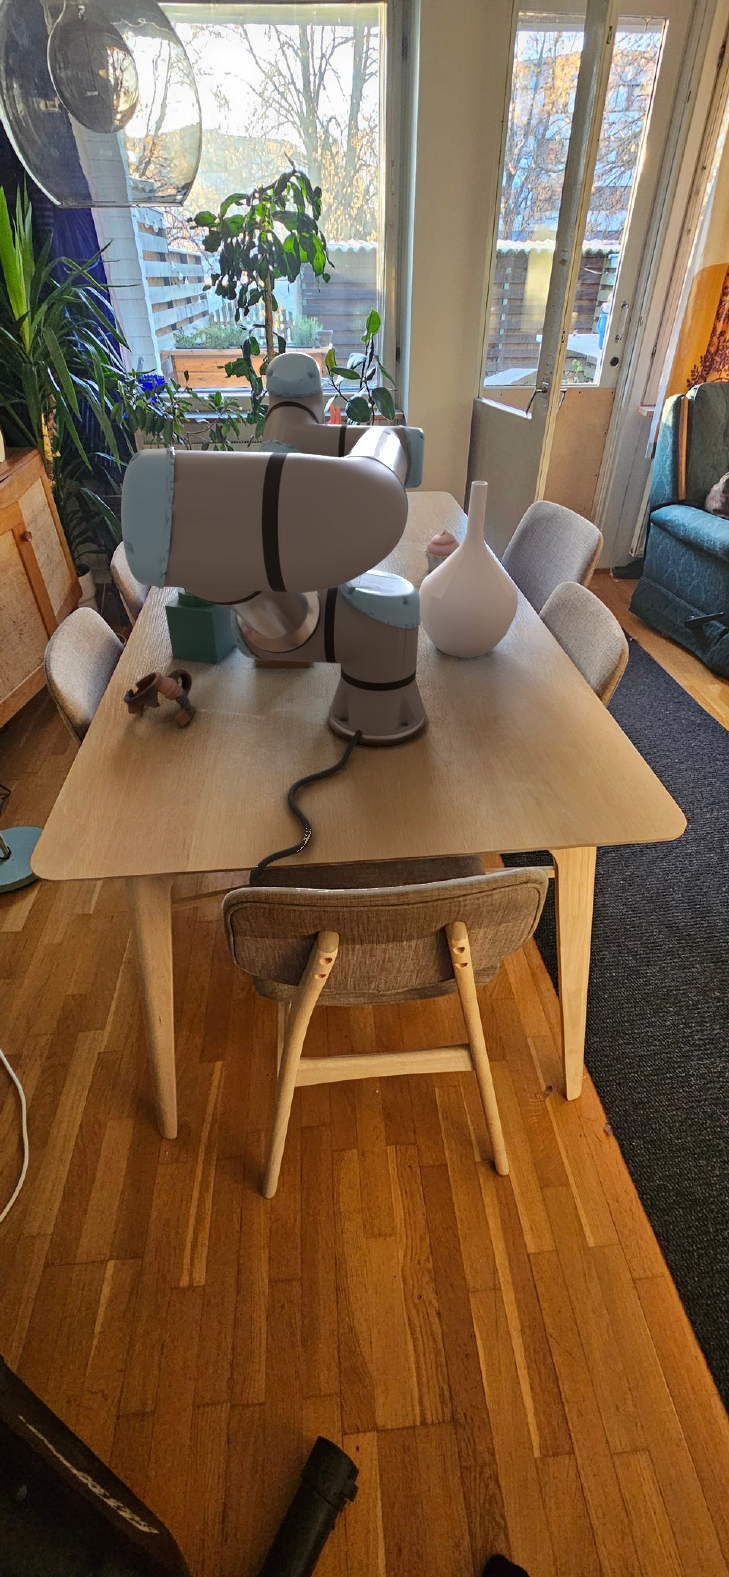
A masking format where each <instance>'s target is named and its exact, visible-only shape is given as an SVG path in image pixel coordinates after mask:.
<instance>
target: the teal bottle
mask: <svg viewBox="0 0 729 1577" xmlns="http://www.w3.org/2000/svg"><path fill="white" fill-rule="evenodd" d="M176 591H177V595H176V596H175V597H173V599H172V600H170V601H169V602H168V603H166V604H165V605H164V610H165V616H166V621H167V627H168V634H169V640H170V647H171V654H172V657H173V658H178V659H184V660H191V661H198V662H204V663H212V664H219V663H220V662H221V661H222V660H223V659H224V658H225V657H226V656H227V655H228V653H230V652H231V651H232V649H234V647H235V646H236V644H235V638H234V637H233V634H232V629H231V608H229V607H228V606H220V605H214V604H210V603H207V602H205V601H203V600H201V599H199V598H197V597H195V596H194V595H193V594H191V593H188V592H186V589H185V588H179V587H176Z"/></svg>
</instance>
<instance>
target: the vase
mask: <svg viewBox="0 0 729 1577" xmlns="http://www.w3.org/2000/svg"><path fill="white" fill-rule="evenodd" d="M488 485H489V484H488V482H487V481H484V480H474V481H472V482H471V488H470V495H469V501H468V502H469V504H468V511H467V520H466V521H467V522H466V530H465V535H464V537H463V540H462V541H461V542H460V543H459V545H460V546H459V547H458V548H457V549H456V550H455V551H454V552H453V553H452V554H451V555H450V556H449V557H448V558H447V559H446V560H445V561H444V562H443V563H442V564H441V565H440V566H438V567H437V568H436V569H435V570H434V571H433V572H431V573H430V572H429V574H428V575H426V576H425V577H424V579H423V580H422V581H421V584H420V588H419V591H418V593H419V597H420V616H421V624H422V628H423V630H424V631H425V633H426V635H427V637H428V638H429V640H430V641H431V643H432V644H433V645H434V646H435V647H436V648H437V649H438V650H440V651H441V652H442V653H444V654H446V655H449V656H452V657H459V658H476V657H479V656H483V655H485V654H487V653H488V652H490V651H492V650H493V649H494V648H495V647H497V645H499V643H500V642H501V641H502V640H503V639H504V638H505V637H506V636H507V633H508V631H509V629H510V627H511V625H512V623H513V622H514V619H515V618H516V615H517V611H518V606H519V596H518V595H519V594H518V588H517V584H515V582H514V581H513V580H512V579H511V578H510V576H509V575H508V574H507V573H506V572H505V570H504V569H503V567H501V565H500V564H499V562H498V561H497V560H496V559H495V557H494V555H493V554H492V553H491V551H490V550H489V549H488V547H487V544H486V541H485V537H484V531H485V530H484V529H485V519H486V508H487V496H488Z"/></svg>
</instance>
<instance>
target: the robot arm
mask: <svg viewBox="0 0 729 1577" xmlns="http://www.w3.org/2000/svg"><path fill="white" fill-rule="evenodd" d="M265 379H266V385H265V389H266V391H267V394H268V406H267V410H266V416H265V424H264V429H263V434H262V437H261V442H260V445H259V448H258V451H228V450H227V451H226V450H225V451H223V450H190V449H189V450H187V449H185V450H183V449H175V448H174V446H170V445H169V446H167V447H165V448H147V449H142V450H139V451H137V452H136V453H134V454H133V456H131V459H130V460H129V463H128V464H127V466H126V468H125V469H126V470H125V472H124V478H123V482H122V483H123V484H122V488H121V489H122V490H121V500H120V501H121V502H120V503H121V504H120V520H121V523H120V524H121V536H122V542H123V549H124V555H125V559H126V562H127V565H128V566H127V567H128V568H129V571H130V573H131V575H132V576H133V578H134V579H135V580H136V581H137V582H138V583H139V584H141V585H143V586H149V587H150V586H151V587H156V588H157V589H159V590H163V589H164V588H177V587H179V588H185V589H186V590H188V591H189V592H190V593H191V594H193V595H194V596H195V597H197V598H199V599H201V600H203V601H205V602H207V603H210V604H214V605H220V606H228V607H229V608H231V629H232V634H233V637H234V638H235V644H236V645H235V646H236V648H237V649H238V651H239V652H240V653H241V654H242V655H243V656H245V657H246V658H250V659H254V660H255V659H258V660H262V661H268V660H281V661H302V662H311V663H323V664H325V663H326V664H336V665H337V664H339V665H340V678H339V681H338V684H337V686H336V689H335V692H334V695H333V698H332V701H331V703H330V705H329V706H330V707H329V712H328V713H329V725H330V728H331V729H332V730H333V731H334V732H335V733H336V734H337V735H338V736H340V737H341V738H343V739H345V740H347V741H349V743H348V744H347V746H346V748H345V750H344V751H345V752H344V753H343V755H342V757H341V759H340V760H339V761H338V762H337V763H335V764H334V765H332V766H331V767H329V768H327V769H324V770H322V771H318V772H315V773H313V774H310V775H308V776H305V777H302V778H301V779H299V780H297V781H296V782H294V784H292V785H291V786H290V788H289V790H288V792H287V798H286V800H287V804H288V807H289V808H290V810H291V811H292V813H293V814H294V815H295V817H296V818H297V820H298V821H299V822H300V824H301V825H302V828H303V830H304V836H303V838H302V840H303V839H304V837H305V838H307V837H308V835H309V834H310V832H309V831H311V834H310V837H309V839H308V841H307V843H306V844H305V841H306V839H305V840H303V841H302V840H301V841H300V842H301V843H300V842H299V843H297V844H296V845H294V846H292V847H288V848H285V849H282V850H279V851H276V852H274V853H271V854H269V855H267V856H266V857H265V858H263V859H262V860H261V861H259V863H258V864H257V865H256V866H258V867H256V866H255V867H254V869H253V870H252V872H251V874H250V877H249V879H248V881H249V883H255V882H256V881H258V878H259V877H260V875H261V873H262V872H263V871H264V870H265V868H266V867H268V866H269V865H271V864H272V863H274V862H276V861H278V860H281V859H284V858H287V857H290V856H294V855H295V854H298V853H300V852H302V851H303V850H304V849H306V848H307V847H308V845H309V844H310V842H311V840H312V837H313V836H312V835H313V829H312V827H311V824H310V822H309V820H308V818H307V817H306V816H305V815H304V813H303V812H302V811H301V809H300V808H299V807H298V805H297V803H296V800H295V795H296V793H297V791H298V790H299V789H301V787H303V786H305V785H306V784H309V783H312V782H315V781H318V780H320V779H324V778H326V777H329V776H331V775H333V774H335V773H337V772H338V771H339V770H340V769H342V768H343V767H344V766H345V765H346V764H347V763H348V761H349V759H350V757H351V755H352V753H353V750H354V749H355V747H356V746H357V744H358V745H364V746H371V747H385V746H394V745H399V744H403V743H405V742H408V741H410V740H412V739H414V738H416V737H417V736H418V735H419V734H421V732H422V731H423V729H424V727H425V722H426V720H425V719H426V708H425V706H424V702H423V699H422V694H421V692H420V688H419V685H418V682H417V666H418V649H419V648H418V646H419V627H420V625H421V623H422V621H421V616H420V597H419V591H418V590H417V587H416V586H414V584H413V583H411V582H410V581H409V580H407V579H405V578H403V577H402V576H399V575H397V574H394V573H392V572H388V571H384V570H378V569H374V568H376V567H377V566H378V565H379V564H380V563H381V562H383V561H384V560H385V559H386V558H388V557H389V555H390V554H392V552H393V551H394V550H395V548H396V547H397V546H398V544H399V542H400V541H401V538H402V537H403V535H404V534H405V533H404V532H405V529H406V526H407V521H408V515H409V500H408V495H407V494H408V493H407V491H406V489H417V488H419V487H420V486H421V484H422V483H423V471H424V457H425V433H424V431H423V429H422V428H420V427H411V426H404V425H401V424H397V425H395V426H394V425H351V424H350V425H349V424H341V425H332V424H328V423H326V416H325V403H324V383H323V380H322V375H321V369H320V365H319V364H318V361H317V360H316V359H315V358H313V357H312V356H311V355H309V354H306V353H304V352H300V351H299V352H293V351H289V352H285V353H282V354H279V355H277V356H275V357H274V358H273V359H272V360H271V361H270V362H269V363H268V365H267V366H266V368H265ZM306 828H307V829H306ZM310 829H311V830H310ZM306 831H308V832H306ZM305 834H306V835H307V836H305ZM304 844H305V845H304ZM303 846H304V847H303ZM301 847H303V848H302V849H301ZM300 849H301V850H300ZM298 850H299V851H298ZM297 851H298V852H297Z"/></svg>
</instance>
